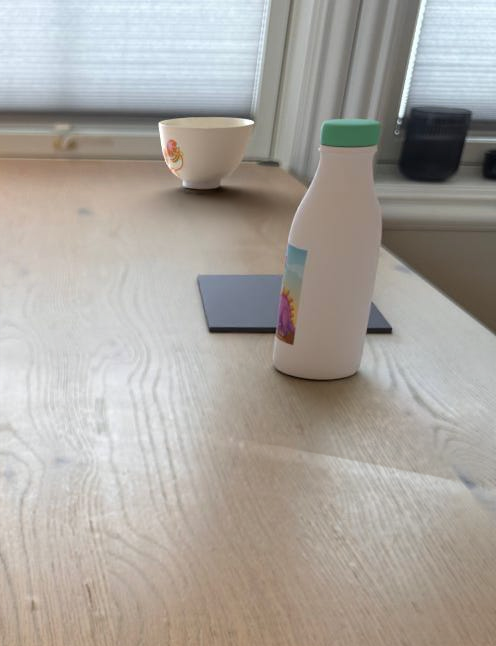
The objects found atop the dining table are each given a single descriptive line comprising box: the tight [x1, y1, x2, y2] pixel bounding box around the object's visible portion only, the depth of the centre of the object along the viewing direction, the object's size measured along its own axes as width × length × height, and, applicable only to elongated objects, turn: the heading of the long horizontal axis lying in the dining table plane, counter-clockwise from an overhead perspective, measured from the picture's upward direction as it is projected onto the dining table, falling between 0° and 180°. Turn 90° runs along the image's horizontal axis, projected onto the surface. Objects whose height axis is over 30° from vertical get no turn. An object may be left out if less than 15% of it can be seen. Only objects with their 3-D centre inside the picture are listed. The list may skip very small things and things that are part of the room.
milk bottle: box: [272, 118, 383, 380], centre depth 83 cm, size 8×8×20 cm
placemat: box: [196, 274, 393, 334], centre depth 107 cm, size 22×18×1 cm
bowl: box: [158, 116, 255, 190], centre depth 169 cm, size 16×16×10 cm
